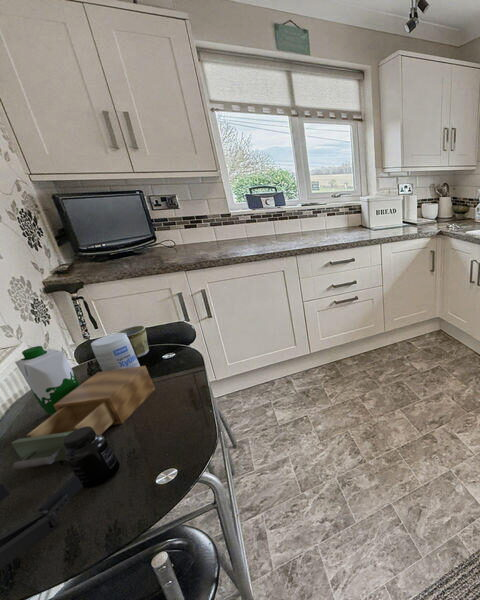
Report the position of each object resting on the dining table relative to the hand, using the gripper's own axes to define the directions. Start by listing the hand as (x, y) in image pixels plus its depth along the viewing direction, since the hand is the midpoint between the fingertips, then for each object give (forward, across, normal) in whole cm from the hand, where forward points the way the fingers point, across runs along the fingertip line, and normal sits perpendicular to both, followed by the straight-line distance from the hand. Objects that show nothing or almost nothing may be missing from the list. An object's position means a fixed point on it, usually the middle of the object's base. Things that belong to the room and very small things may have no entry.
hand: (41, 484), depth 61 cm
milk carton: (+37, -32, -9) cm, 50 cm away
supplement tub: (+53, -26, -9) cm, 60 cm away
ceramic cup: (+70, -34, -9) cm, 79 cm away
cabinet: (+34, -16, -9) cm, 39 cm away
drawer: (+20, -15, -8) cm, 26 cm away
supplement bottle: (+10, 0, -9) cm, 13 cm away
